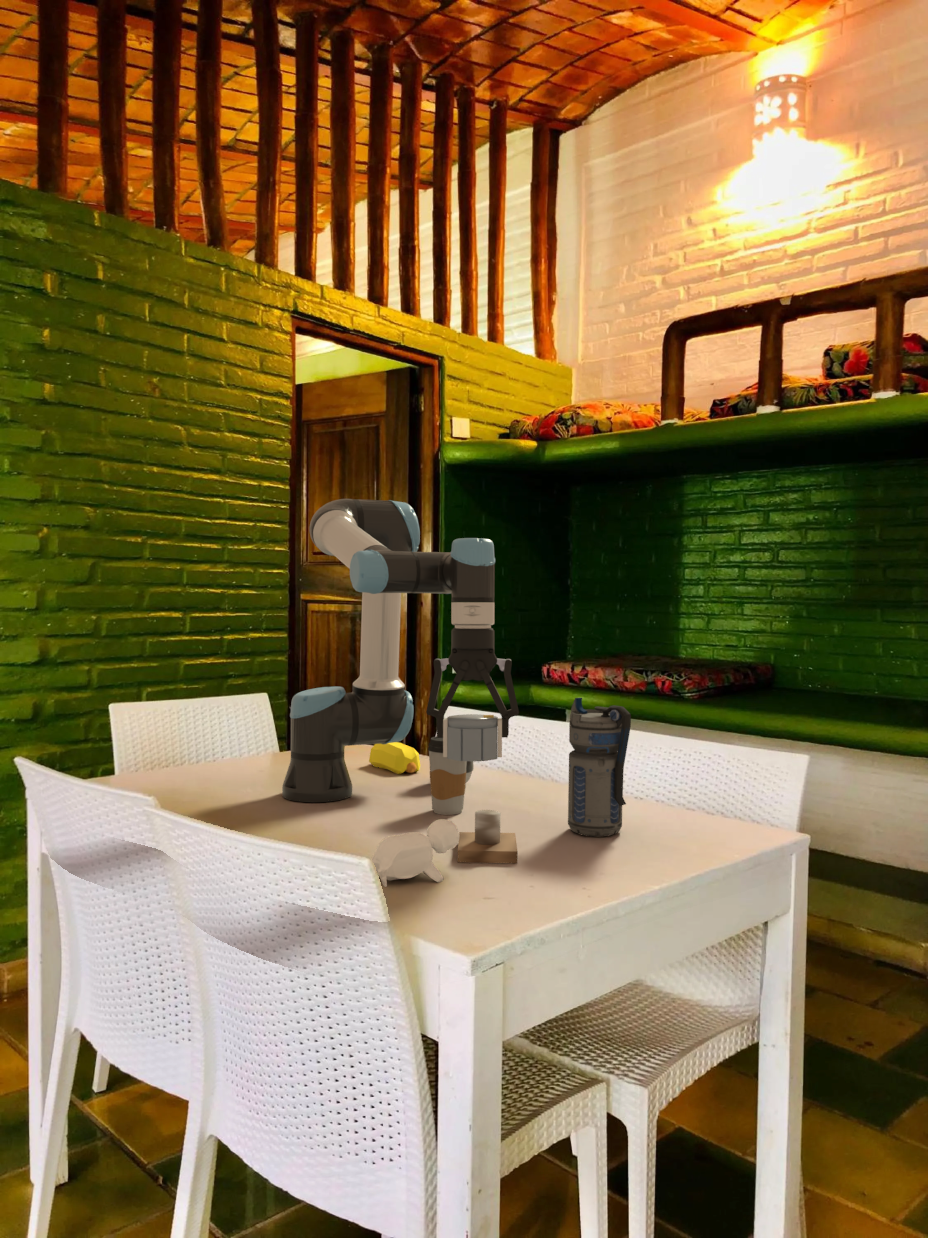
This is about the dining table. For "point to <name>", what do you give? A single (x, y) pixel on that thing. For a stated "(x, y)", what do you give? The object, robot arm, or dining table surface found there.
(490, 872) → the dining table surface
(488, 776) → the dining table surface
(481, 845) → the stud base
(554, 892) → the dining table surface
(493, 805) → the dining table surface
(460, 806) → the coffee cup
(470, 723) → the cap
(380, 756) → the yellow faceted long part
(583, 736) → the beverage bottle
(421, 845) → the white animal figurine
